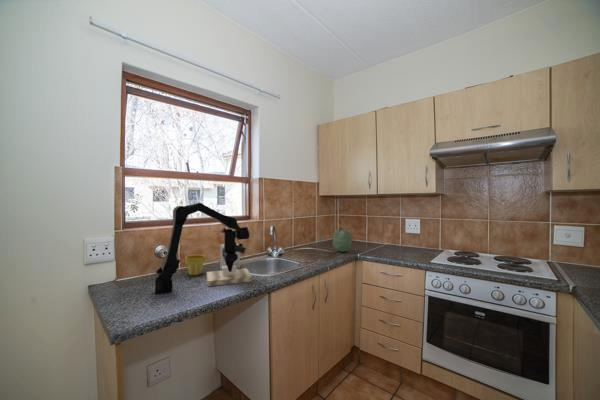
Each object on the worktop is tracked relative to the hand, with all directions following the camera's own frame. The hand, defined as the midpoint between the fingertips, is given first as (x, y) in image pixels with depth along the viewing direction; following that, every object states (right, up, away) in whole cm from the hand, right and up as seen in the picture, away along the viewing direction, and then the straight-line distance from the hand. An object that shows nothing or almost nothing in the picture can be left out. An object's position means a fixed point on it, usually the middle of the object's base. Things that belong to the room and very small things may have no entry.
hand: (229, 269), depth 130 cm
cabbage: (+74, -7, +74) cm, 105 cm away
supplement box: (-5, -5, +20) cm, 21 cm away
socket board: (0, -5, 0) cm, 5 cm away
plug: (0, -5, 0) cm, 5 cm away
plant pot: (-22, -5, +8) cm, 24 cm away
